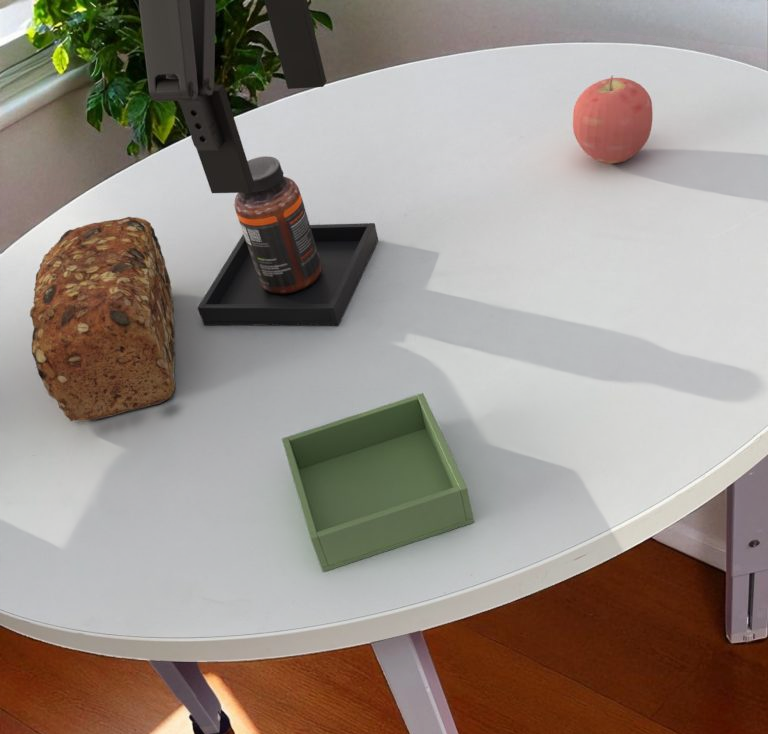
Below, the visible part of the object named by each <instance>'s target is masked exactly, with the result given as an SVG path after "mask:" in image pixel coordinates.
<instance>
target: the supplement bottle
mask: <svg viewBox="0 0 768 734" xmlns="http://www.w3.org/2000/svg"><path fill="white" fill-rule="evenodd" d="M247 161H248V165H249V168H250V171H251V174H252V178H253V181H254V184H255V187H254V188H253V190H252V191H251V193H236V195H235V197H234V203H233V207H234V209H235V213H236V216H237V218H238V222H239V225H240V228H241V231H242V233H243V234H244V237H245V240H246V243H247V246H248V248H249V251H250V254H251V257H252V260H253V263H254V266H255V269H256V272H257V275H258V277H259V280H260V283H261V285H262V286H263V288H264V289H265V290H267V291H269V292H271V293H276V294H287V293H293V292H296V291H299V290H302V289H304V288H306V287H308V286H309V285H311V284H312V283H313V282H314V281H315V280H316V279H317V278H318V276H319V275H320V272H321V262H320V258H319V254H318V251H317V248H316V244H315V241H314V238H313V234H312V231H311V228H310V225H311V224H310V221H309V217H308V215H307V210H306V207H305V204H304V200H303V197H302V194H301V191H300V188H299V186H298V185H297V183H296V182H295V181H294V180H293V179H291V178H290V177H287V176H284V174H285V173H284V171H283V169H282V166H281V162H280V160H279V159H278V158H276V157H274V156H269V155H268V156H264V155H263V156H257V157H254V158H251V159H249V160H247ZM243 234H242V235H243Z"/></svg>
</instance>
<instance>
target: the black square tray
mask: <svg viewBox="0 0 768 734" xmlns="http://www.w3.org/2000/svg"><path fill="white" fill-rule="evenodd" d="M310 228H311V231H312V234H313V238H314V241H315V244H316V248H317V251H318V254H319V258H320V262H321V272H320V275H319V276H318V278H317V279H316V280H315V281H314V282H313V283H312V284H311V285H309V286H308V287H306V288H304V289H302V290H299V291H296V292H293V293H287V294H276V293H271V292H269V291H267V290H265V289H264V288H263V286H262V285H261V283H260V280H259V277H258V275H257V272H256V269H255V266H254V263H253V260H252V257H251V254H250V251H249V248H248V246H247V243H246V240H245V237H244V234H242V235H241V237H239V240H238V241H237V243H236V245H235V246H234V248H233V250H232V251H231V253H230V255H229V256H228V258H227V260H226V261H225V262H224V264H223V266H222V267H221V269H220V270H219V272H218V274H217V276H216V277H215V279H214V280H213V282H212V284H211V286H210V287H209V288H208V290H207V292H206V294H205V295H204V297H203V299H202V300H201V302H200V303H199V305H198V307H197V311H198V314H199V316H200V318H201V322H202V324H203V326H308V327H309V326H310V327H311V326H313V327H314V326H318V327H320V326H329V327H330V326H332V327H333V326H335V327H336V326H337V327H338V326H339V325H340V323H341V321H342V319H343V317H344V314H345V313H346V310H347V308H348V306H349V304H350V302H351V300H352V298H353V295H354V294H355V292H356V289H357V287H358V285H359V283H360V281H361V278H362V276H363V274H364V272H365V270H366V268H367V265H368V263H369V262H370V260H371V257H372V255H373V254H374V251H375V248H376V247H377V245H378V242H379V237H378V236H379V235H378V232H377V228H376V223H375V222H369V223H368V222H366V223H365V222H363V223H332V224H331V223H329V224H327V223H326V224H310Z"/></svg>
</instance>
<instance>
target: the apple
mask: <svg viewBox="0 0 768 734" xmlns="http://www.w3.org/2000/svg"><path fill="white" fill-rule="evenodd" d="M652 126H653V102H652V98H651V96H650V94H649V92H648V91H647V89H645V87H644V86H642V85H641V84H640V83H638V82H636V81H634V80H633V79H629V78H624V77H614V76H613V75H611V76H610V78H604V79H601V80H599V81H596V82H595V83H592V84H591V85H590V86H588V87H586V89H584V91H583V92H582V93H581V94H580V95H579V96H578V98H577V99H576V101H575V104H574V107H573V111H572V131H573V134H574V137H575V140H576V141H577V143H578V145H579V147H580V148H581V149H582V150H583V151H584V153H586V155H588V156H589V157H590V158H592V159H593V160H595V161H597V162H600V163H603V164H618V163H622V162H625V161H627V160H629V159H630V158H633V156H635V155H636V154H637V153H639V151H641V149H642V148H643V147H645V145H646V143H647V141H648V140H649V138H650V135H651V132H652V128H653V127H652Z"/></svg>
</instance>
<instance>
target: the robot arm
mask: <svg viewBox="0 0 768 734" xmlns="http://www.w3.org/2000/svg"><path fill="white" fill-rule="evenodd" d="M263 1H264V6H265V8H266V9H265V10H266V13H267V17H268V20H269V24H270V28H271V32H272V35H273V39H274V42H275V47H276V51H277V54H278V57H279V61H280V66H281V68H282V72H283V77H284V80H285V84H286V88H287V90H292V89H312V88H324V87H325V85H326V83H327V78H326V73H325V70H324V65H323V60H322V57H321V52H320V49H319V44H318V40H317V36H316V31H315V28H314V27H315V26H314V23H313V19H312V16H311V11H310V5H309V3H308V0H263ZM138 5H139V15H140V25H141V30H142V31H141V32H142V41H143V42H142V43H143V49H144V58H145V59H144V60H145V68H146V76H147V77H146V78H147V85H148V93H149V96H150V98H151V100H152V101H153V102H155V103H162V102H164V103H165V102H177V103H178V105H179V107H180V109H181V111H182V114H183V115H182V116H183V117H184V120H185V122H186V127H187V129H188V132H189V135H190V138H191V140H192V143H193V146H194V147H195V149H196V152H197V155H198V157H199V160H200V163H201V167H202V169H203V172H204V174H205V177H206V180H207V183H208V186H209V189H210V192H211V194H238V193H251V191H252V190H253V188H254V187H255V184H254V181H253V178H252V174H251V171H250V168H249V165H248V161H249V160H248V158H247V156H246V151H245V149H244V146H243V142H242V139H241V136H240V132H239V130H238V126H237V124H236V123H237V122H236V120H235V117H234V114H233V110H232V108H231V103H230V101H229V97H228V95H227V91H226V88H225V85H224V84H215V61H216V60H215V59H216V57H215V55H216V50H215V49H216V5H217V3H216V0H138Z"/></svg>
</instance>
